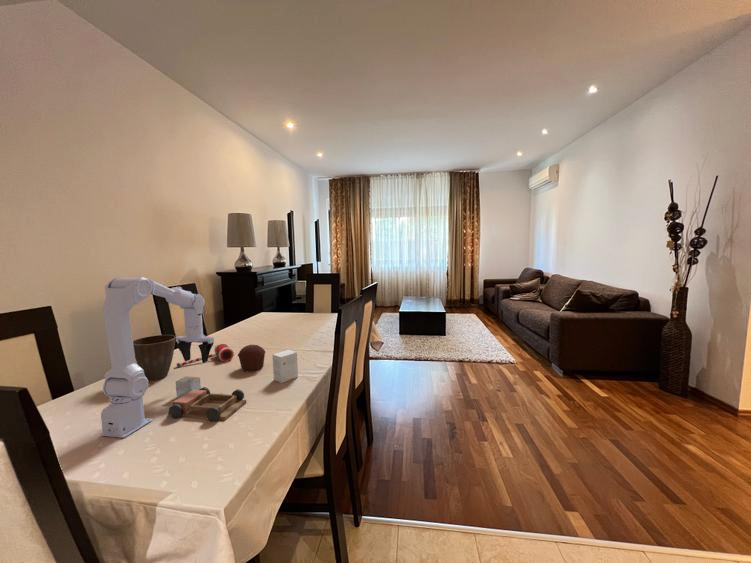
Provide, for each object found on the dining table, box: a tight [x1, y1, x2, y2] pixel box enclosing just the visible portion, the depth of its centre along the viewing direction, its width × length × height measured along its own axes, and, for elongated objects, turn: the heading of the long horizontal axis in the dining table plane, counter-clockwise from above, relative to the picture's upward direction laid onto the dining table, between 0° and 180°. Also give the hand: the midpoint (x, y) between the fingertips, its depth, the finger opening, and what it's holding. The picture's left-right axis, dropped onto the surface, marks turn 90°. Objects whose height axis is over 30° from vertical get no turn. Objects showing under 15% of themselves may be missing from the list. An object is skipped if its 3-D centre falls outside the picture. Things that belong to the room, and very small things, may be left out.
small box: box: [272, 349, 299, 384], centre depth 127 cm, size 8×6×10 cm
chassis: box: [167, 386, 247, 422], centre depth 104 cm, size 14×20×4 cm
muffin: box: [237, 344, 266, 373], centre depth 140 cm, size 12×11×10 cm
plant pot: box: [133, 334, 177, 382], centre depth 131 cm, size 15×15×16 cm
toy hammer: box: [176, 342, 235, 368], centre depth 149 cm, size 23×12×6 cm, turn 127°
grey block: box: [175, 376, 202, 399], centre depth 114 cm, size 4×6×6 cm
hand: (196, 361), depth 120 cm, fingers open, 7 cm apart
